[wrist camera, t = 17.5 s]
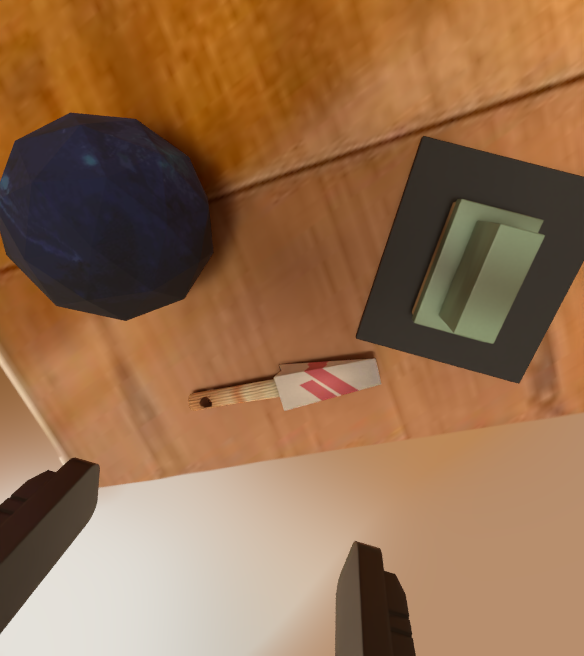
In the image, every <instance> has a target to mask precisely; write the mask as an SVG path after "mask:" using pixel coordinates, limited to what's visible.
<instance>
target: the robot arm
mask: <svg viewBox="0 0 584 656" xmlns="http://www.w3.org/2000/svg"><path fill="white" fill-rule="evenodd" d="M99 472H100V467H99V465H98V464H95V463H92V462H89V461H85V460H82V459H78V458H72V459H70V460H69V461H68V462H66V463H65V464H64V465H63V466H62V467H61V468H60V469H59V470H58V471H57V472H53V471H49V470H47V471H46V472H43V473H41V474H39V475H38V476H35V477H34V478H32V479H30V480H28V481H27V482H25V484H23V485H22V486H21V487H20V488H19V489H18V490H16V491H15V492H14V493H13V494H12V495H11V497H10V498H7V499H6V500H5V501H4V502H3V503H2V504H1V505H0V633H1V632H2V631H3V629H4V628H5V627H6V626H7V625H8V623H9V622H10V621H11V619H12V618H13V617H14V616H15V615H16V613H17V612H18V611H19V609H20V608H21V607H22V606H23V604H24V603H25V602H26V600H27V599H28V598H29V596H30V595H31V594H32V592H34V590H35V589H36V588H37V587H38V585H39V584H40V583H41V581H42V580H43V579H44V578H45V576H46V575H47V574H48V573H49V571H50V570H51V569H52V568H53V566H54V565H55V564H56V562H57V561H58V560H59V559H60V557H61V556H62V555H63V554H64V552H65V551H66V550H67V548H68V547H69V546H70V545H71V543H72V542H73V541H74V540H75V538H76V537H77V536H78V534H79V533H80V532H81V531H82V529H83V528H84V527H85V526H86V524H87V523H88V522H89V520H90V518H91V517H92V515H93V513H94V510H95V508H96V504H97V498H98V497H97V496H98V485H99ZM335 656H416V655H415V649H414V643H413V638H412V631H411V625H410V620H409V613H408V607H407V600H406V595H405V592H404V591H403V589H402V586H401V585H400V582H399V581H398V578H397V576H396V575H395V574H393V573H389V572H386V571H384V568H383V560H382V553H381V550H380V548H377V547H374V546H370V545H367V544H364V543H360V542H357V541H355V542H354V543H353V545H352V547H351V550H350V552H349V554H348V557H347V559H346V562H345V564H344V566H343V569H342V571H341V574H340V577H339V580H338V585H337V593H336V634H335Z"/></svg>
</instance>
